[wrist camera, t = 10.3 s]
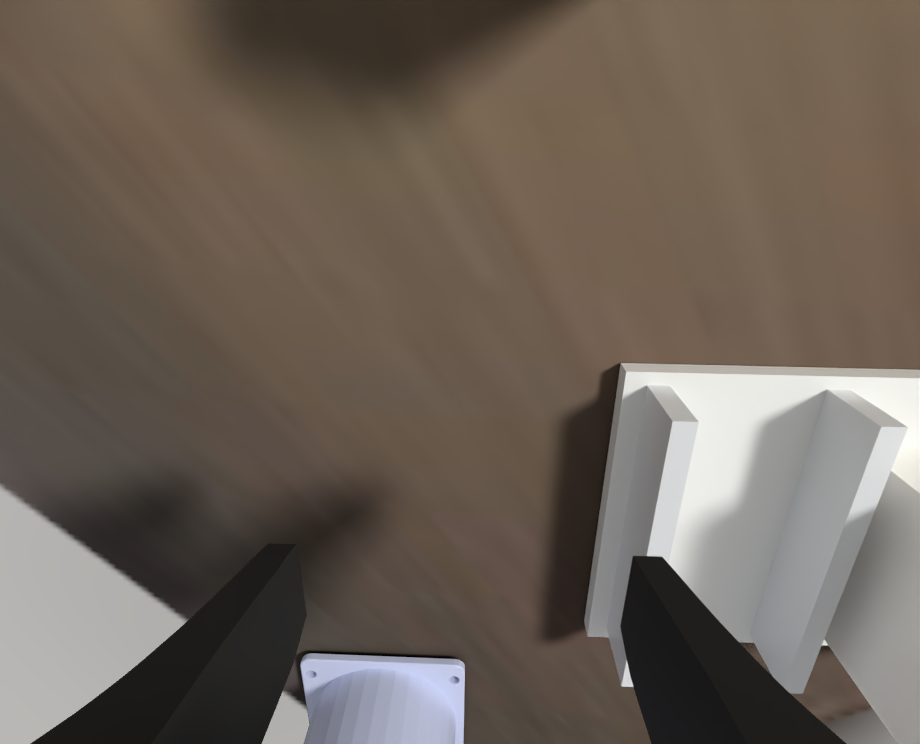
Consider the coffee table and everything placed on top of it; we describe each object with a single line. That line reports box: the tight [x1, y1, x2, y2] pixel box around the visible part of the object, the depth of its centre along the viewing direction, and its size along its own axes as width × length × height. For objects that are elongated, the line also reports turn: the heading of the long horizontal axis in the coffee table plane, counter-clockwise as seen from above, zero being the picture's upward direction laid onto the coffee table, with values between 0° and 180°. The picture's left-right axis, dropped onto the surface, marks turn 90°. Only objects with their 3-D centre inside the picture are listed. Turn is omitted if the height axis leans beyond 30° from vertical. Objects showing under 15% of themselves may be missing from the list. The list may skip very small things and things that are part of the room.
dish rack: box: [584, 363, 920, 694], centre depth 20 cm, size 13×15×4 cm
